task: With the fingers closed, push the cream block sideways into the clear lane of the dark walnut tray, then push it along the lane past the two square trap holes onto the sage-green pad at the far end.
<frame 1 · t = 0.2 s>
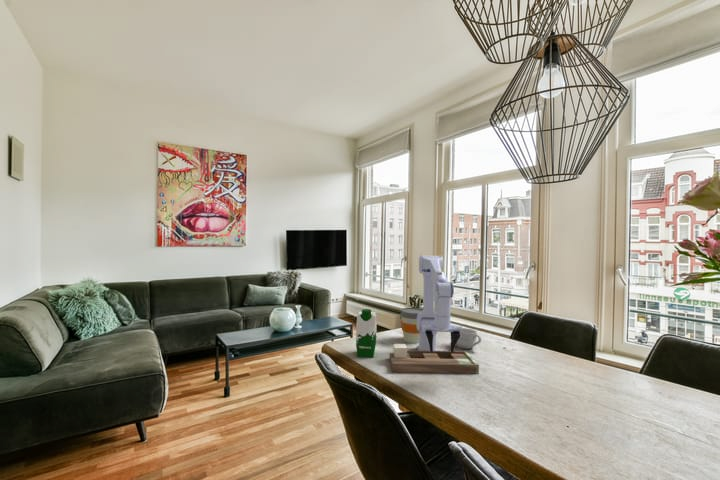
hand: (441, 351, 123), 10 cm above the table, tool pointing down, fingers open, 7 cm apart
teacup: (467, 348, 156), on the table
milk carton: (366, 354, 145), on the table
block: (400, 355, 138), point 2 cm above the table, touching trap box
trap box: (430, 364, 135), on the table
reusable coffee cup: (412, 340, 166), on the table
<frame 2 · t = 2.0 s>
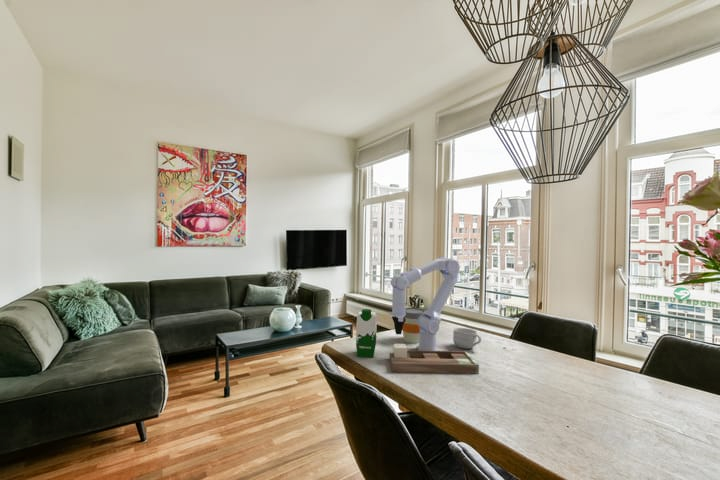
hand: (398, 333, 145), 9 cm above the table, tool pointing down, fingers closed
nothing on the table moved.
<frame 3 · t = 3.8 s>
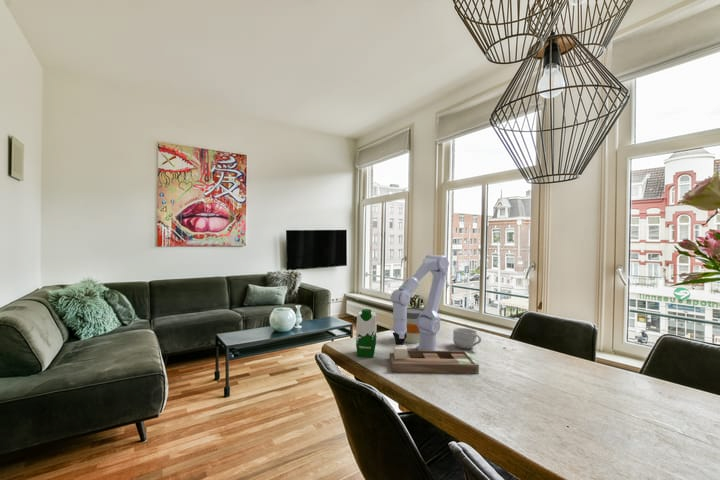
hand: (399, 350, 141), 4 cm above the table, tool pointing down, fingers closed
block: (400, 356, 137), point 2 cm above the table, touching gripper
everything else where it was.
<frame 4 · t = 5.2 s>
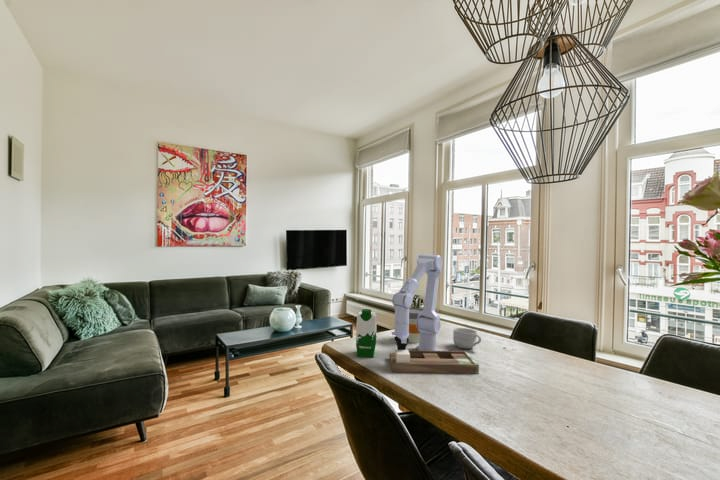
hand: (401, 355, 135), 4 cm above the table, tool pointing down, fingers closed
block: (402, 362, 131), point 2 cm above the table, touching gripper, trap box
everything else where it was.
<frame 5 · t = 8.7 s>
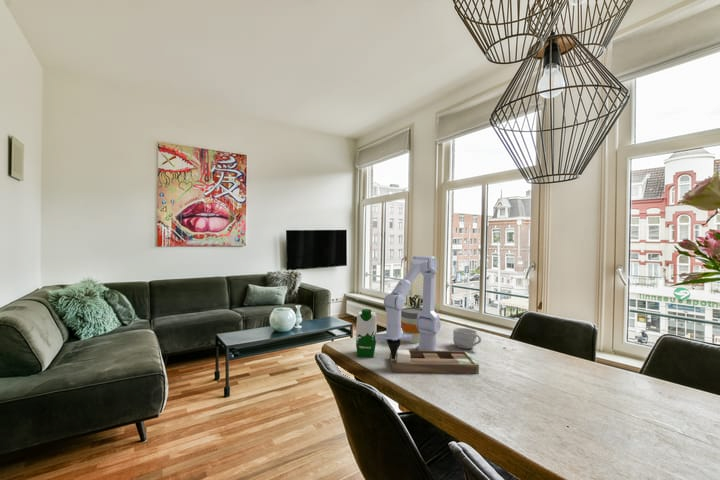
hand: (393, 358, 132), 4 cm above the table, tool pointing down, fingers closed
block: (402, 362, 131), point 2 cm above the table, touching gripper
everything else where it was.
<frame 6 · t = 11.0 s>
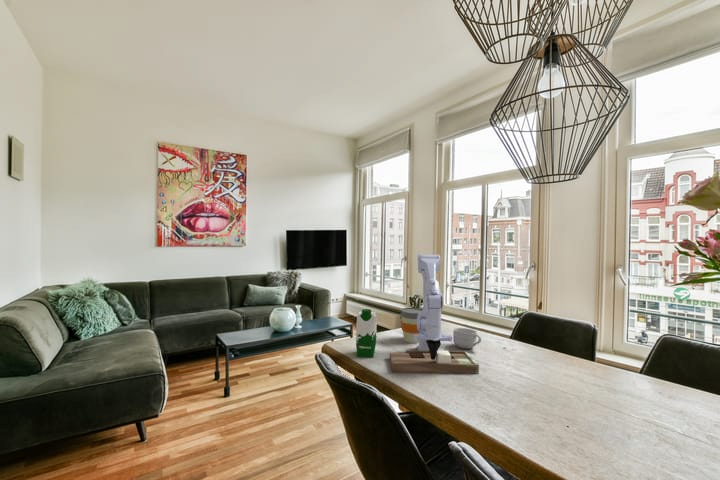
hand: (432, 358, 132), 4 cm above the table, tool pointing down, fingers closed
block: (443, 362, 131), point 2 cm above the table, touching gripper
everything else where it was.
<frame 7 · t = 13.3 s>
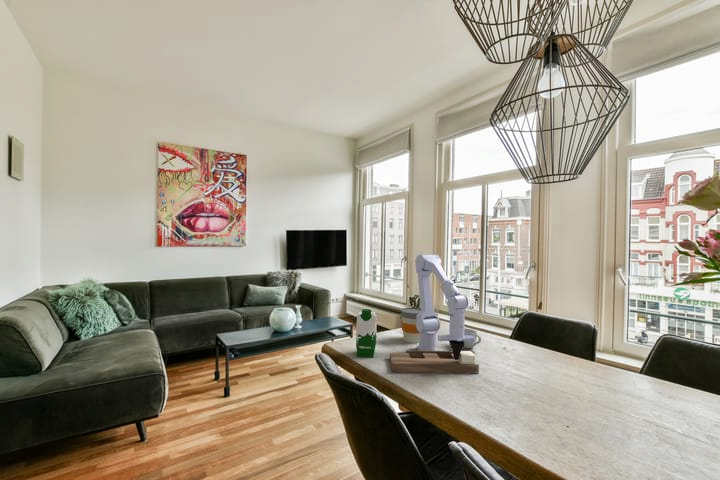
hand: (456, 359, 132), 4 cm above the table, tool pointing down, fingers closed
block: (466, 363, 131), point 2 cm above the table, touching gripper, trap box
everything else where it was.
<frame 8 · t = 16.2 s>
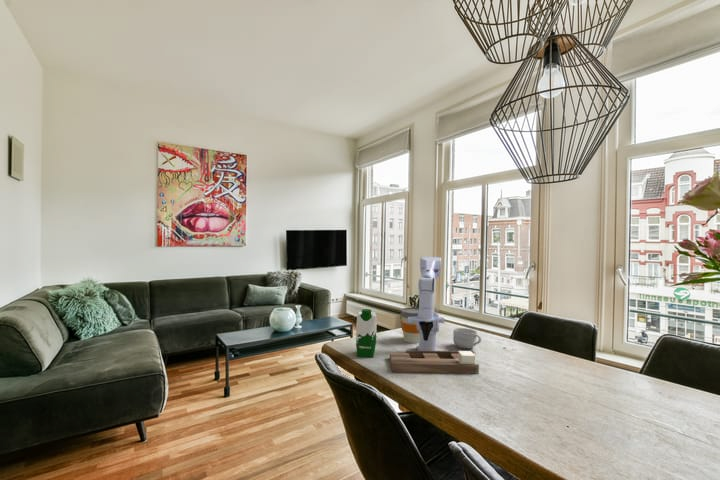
hand: (425, 339, 135), 10 cm above the table, tool pointing down, fingers closed
block: (466, 363, 131), point 2 cm above the table, touching trap box
everything else where it was.
at the end: block 0.9 cm from the target spot on the trap box, point 2.4 cm above the trap box's base; block tilted 0° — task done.
